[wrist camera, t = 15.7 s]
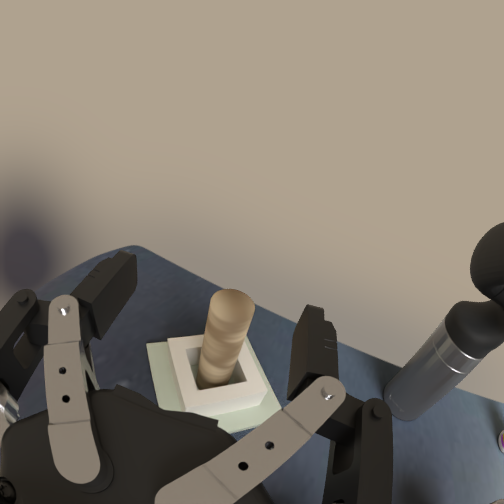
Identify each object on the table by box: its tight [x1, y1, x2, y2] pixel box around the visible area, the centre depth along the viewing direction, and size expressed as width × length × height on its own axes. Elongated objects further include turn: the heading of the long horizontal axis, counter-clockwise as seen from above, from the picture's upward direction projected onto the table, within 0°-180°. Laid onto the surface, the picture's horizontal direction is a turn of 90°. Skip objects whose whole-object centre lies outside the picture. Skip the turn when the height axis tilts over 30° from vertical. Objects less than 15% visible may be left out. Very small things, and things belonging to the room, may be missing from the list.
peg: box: [196, 289, 255, 390], centre depth 32 cm, size 4×4×16 cm
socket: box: [146, 335, 282, 434], centre depth 35 cm, size 16×16×6 cm
